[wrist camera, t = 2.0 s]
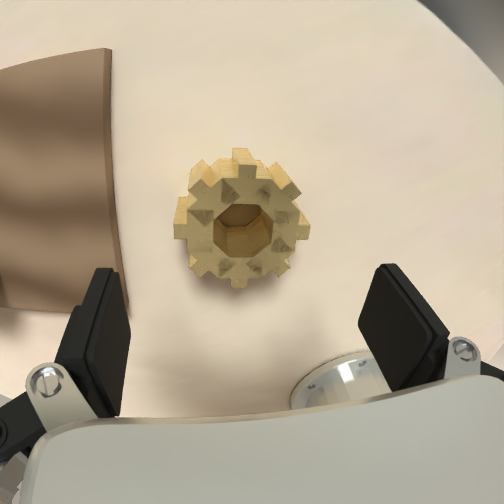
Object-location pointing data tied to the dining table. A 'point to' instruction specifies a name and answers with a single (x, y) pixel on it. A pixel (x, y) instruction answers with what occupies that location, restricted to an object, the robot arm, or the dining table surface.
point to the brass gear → (240, 238)
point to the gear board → (56, 181)
